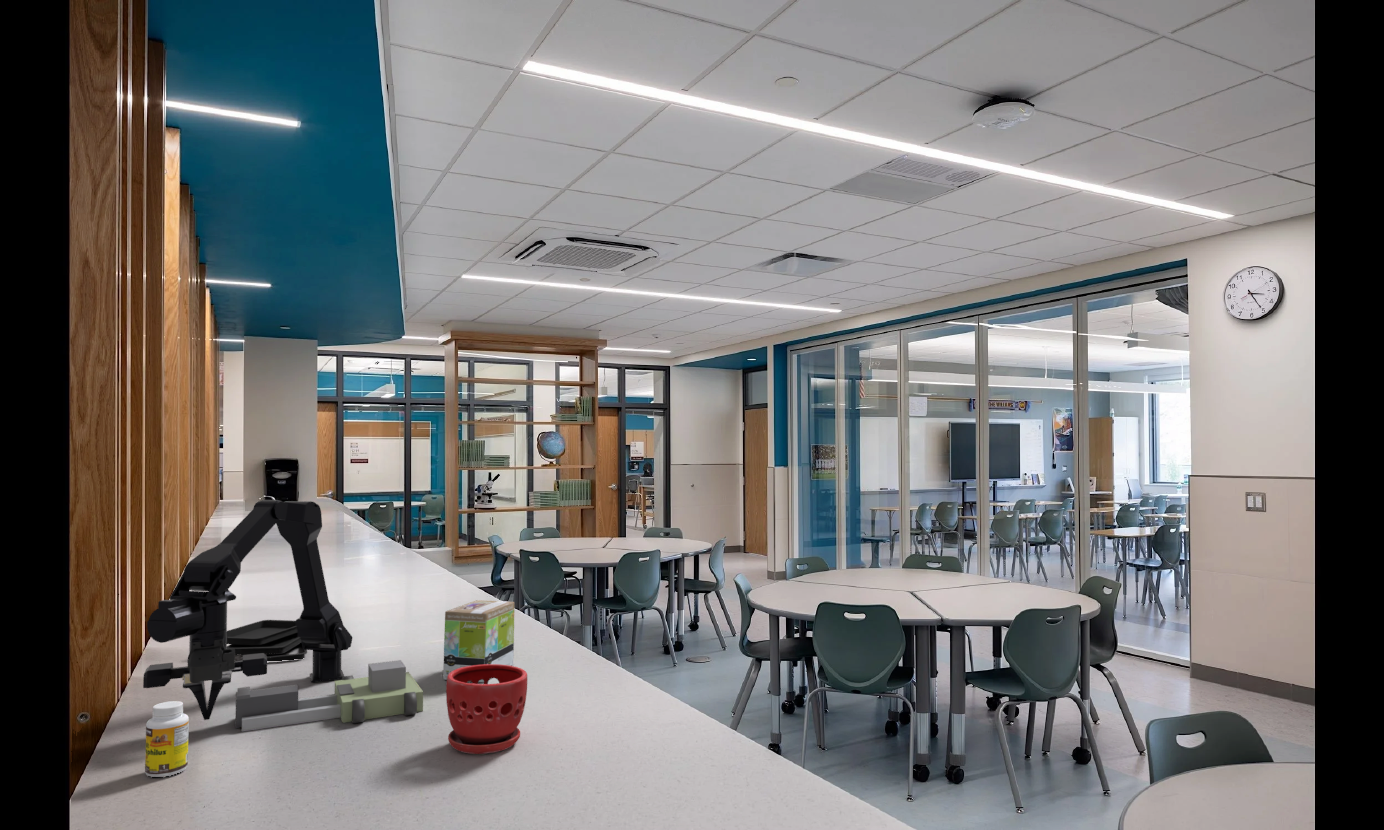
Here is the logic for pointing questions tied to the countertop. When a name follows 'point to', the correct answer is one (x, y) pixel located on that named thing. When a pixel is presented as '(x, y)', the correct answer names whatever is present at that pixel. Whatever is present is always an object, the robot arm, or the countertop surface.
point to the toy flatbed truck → (353, 699)
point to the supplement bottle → (167, 740)
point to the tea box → (478, 635)
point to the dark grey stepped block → (265, 701)
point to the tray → (266, 639)
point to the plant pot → (485, 707)
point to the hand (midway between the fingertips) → (206, 718)
